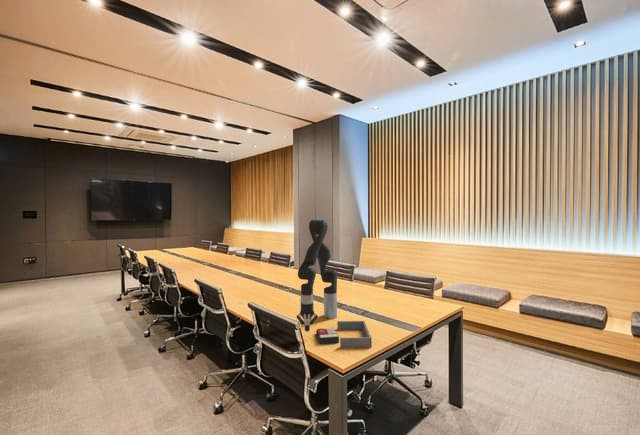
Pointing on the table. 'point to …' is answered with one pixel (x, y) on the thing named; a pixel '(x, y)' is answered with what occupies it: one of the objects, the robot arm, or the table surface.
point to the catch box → (354, 341)
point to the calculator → (327, 336)
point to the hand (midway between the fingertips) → (307, 331)
